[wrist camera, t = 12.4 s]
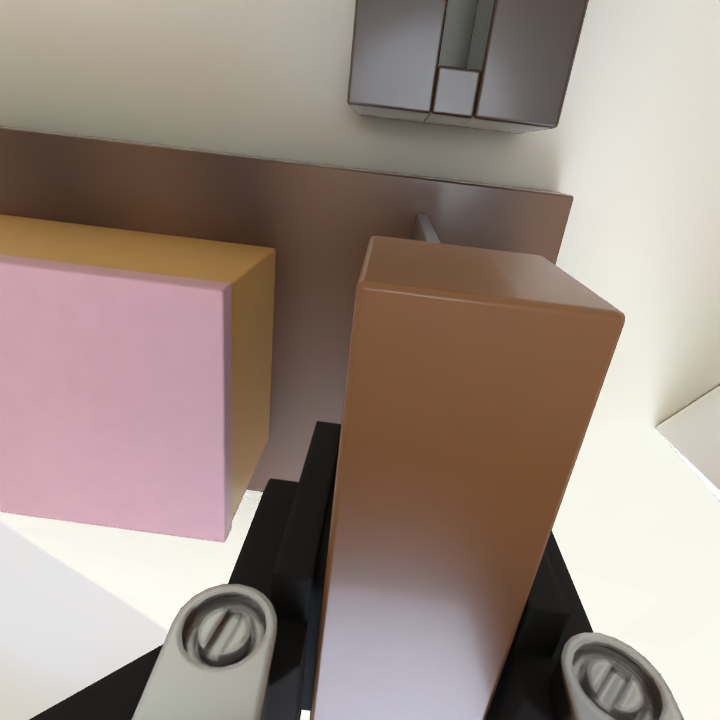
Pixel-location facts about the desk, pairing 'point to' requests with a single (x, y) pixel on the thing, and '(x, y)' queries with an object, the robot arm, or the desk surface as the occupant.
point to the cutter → (449, 470)
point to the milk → (698, 437)
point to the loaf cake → (132, 375)
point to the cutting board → (274, 239)
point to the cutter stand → (484, 67)
